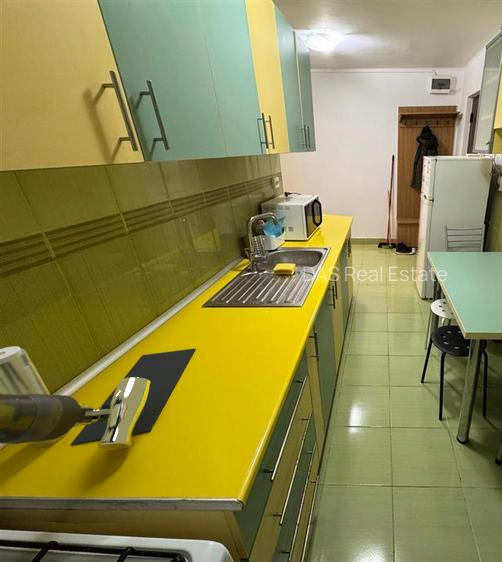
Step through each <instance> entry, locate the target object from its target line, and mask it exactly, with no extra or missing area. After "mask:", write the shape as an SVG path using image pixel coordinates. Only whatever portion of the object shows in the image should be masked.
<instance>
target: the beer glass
mask: <svg viewBox="0 0 502 562" xmlns="http://www.w3.org/2000/svg"><path fill="white" fill-rule="evenodd" d="M123 378H124V377H123ZM123 378H122V379H121V378H120V380H119V382H118V384H117V386H116V387H117V389H116V391H115V393H114V396H113V398H112V401H111V409H110V416H109V418H108V423H107V427H106V430H105V433H104V435H103V437H102V439H101V440H99V442H98V444H97V449H100V450H106V451H109V450H111V451H112V450H123V449H128V448H130V447H131V446H132V442H133V435H134V434H133V431H134V428H135V425H136V423H137V421H138V419H139V417H140V415H141V413H142V411H143V409H144V406H145V404H146V401H147V398H148V394H149V389H150V384H151V381H149V380H147V379H144V378H138V377H129V378H124V379H123Z"/></svg>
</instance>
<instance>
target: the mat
mask: <svg viewBox="0 0 502 562" xmlns="http://www.w3.org/2000/svg"><path fill="white" fill-rule="evenodd" d="M196 350H197V348H196V347H195V348H188V349H180V350H171V351H164V352H156V353H155V352H154V353H148V354H142V355H141V356H140V357H139V359H137V361H136V362H135V363H134V365H132V367H131V368H130V370H129V371H128V372H127V373H126V375H125V376H124V377H123V378H122V379H124V378H129V377H138V378H144V379H147V380H149V381H151V384H150V389H149V394H148V398H147V401H146V404H145V406H144V409H143V411H142V413H141V415H140V417H139V419H138V421H137V423H136V425H135V428H134V431H133V435H139V434H144V433H151V431H152V429H153V428H154V426H155V424H156V422H157V421H158V418H159V417H160V415H161V413H162V411H163V409H164V408H165V406H166V404H167V402H168V401H169V399H170V397H171V395H172V393H173V391H174V389H175V388H176V386H177V384H178V382H179V380H180V379H181V377H182V376H183V373H184V372H185V369H186V368H187V366H188V365H189V363H190V361H191V359H192V357H193V355H194V353H195V352H196ZM116 389H117V386H116V387H115V388H114V389H113V391H111V393H110V394H109V395H108V397H107V398H106V399H105V400H104V402H103V403H102V404H101V406H104V405H107V404H109V405H111V401H112V398H113V396H114V393H115V391H116ZM107 423H108V419H107V420H106V421H100V422H94V423H92V422H91V424H88V425H84V426H83V428H82V429H81V430H80V431H79V433H78V434H77V435H76V436H75V438H74V439H73V440H72V441H71V442H70V446H75V445H80V444H86V443H93V442H98V441H99V442H100V441H101V439H102V437H103V435H104V433H105V430H106V427H107Z"/></svg>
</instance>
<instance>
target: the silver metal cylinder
mask: <svg viewBox="0 0 502 562" xmlns="http://www.w3.org/2000/svg"><path fill="white" fill-rule="evenodd" d="M0 394H16V395H24V394H48V395H51V393H50V391H49V389H48V387H47V385H46V384H45V382H44V380H43V378H42V376H41V375H40V373H39V371H38V370H37V368H36V366H35V364H34V362H33V360H32V359H31V356H30V355H29V353H28V351H27V350H26V349H25V348H23V347H20V346H7V347H3V348H0ZM67 434H68V432H67V433H66V434H64V435H63V436H61V437H59V438H56V439H53V440H47V441H38V442H29V443H30V444H31V446H32V447H33V448H35V449H42V448H46V447H48V446H51V445H53V444H55V443H57V442H58V441H60V440H61V439H63V438H64V437H65V436H66V435H67Z"/></svg>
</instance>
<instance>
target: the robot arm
mask: <svg viewBox="0 0 502 562" xmlns="http://www.w3.org/2000/svg"><path fill="white" fill-rule="evenodd" d="M110 409H111V405H109V404H107V405H104V406H102V405H100V406H99V407H98V408H97V407H96V408H95V407H94V405H86V404H82V403H81V404H79V402H78V401H77V400H76V399H75V398H74V397H73V396H71V395H70V396H69V395H64V394H63V395H62V394H50V395H48V394H24V395H16V394H0V445H20V444H26V443H28V444H29V443H30V442H38V441H47V440H53V439H56V438H59V437H61V436H63V435H64V434H66V433H67V434H68V433H69V432H70V431H71V430H72V429H73V428H78V427H82V426H85V425H88V424H91V422H92V423H94V422H100V421H106V420H107V419H108V418H109V416H110ZM67 434H66V435H67Z"/></svg>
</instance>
